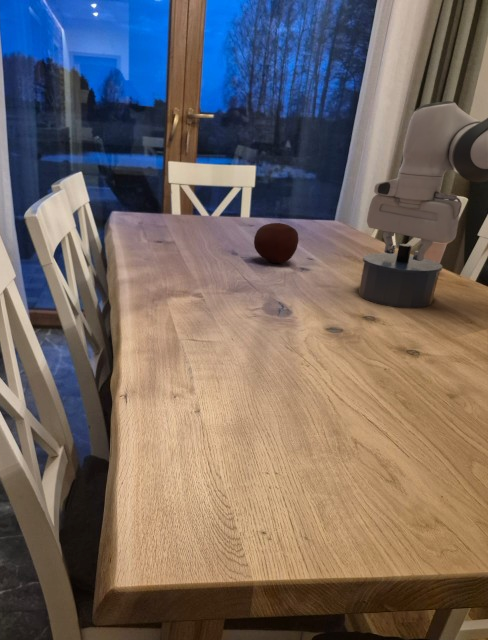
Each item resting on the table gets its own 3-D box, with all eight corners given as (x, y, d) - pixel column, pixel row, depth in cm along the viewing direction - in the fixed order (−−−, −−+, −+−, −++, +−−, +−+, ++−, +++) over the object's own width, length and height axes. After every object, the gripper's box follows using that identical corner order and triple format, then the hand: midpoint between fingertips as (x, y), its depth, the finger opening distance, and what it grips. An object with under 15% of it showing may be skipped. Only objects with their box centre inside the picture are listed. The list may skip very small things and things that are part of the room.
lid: (457, 271, 124) (462, 249, 122) (409, 279, 115) (415, 256, 113) (393, 255, 136) (397, 235, 134) (346, 262, 127) (350, 240, 125)
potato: (272, 255, 163) (276, 217, 159) (305, 265, 153) (310, 225, 149) (242, 258, 157) (245, 219, 153) (274, 269, 148) (279, 228, 143)
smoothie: (409, 272, 152) (421, 217, 146) (429, 271, 154) (442, 217, 148) (425, 278, 147) (438, 222, 141) (446, 277, 149) (459, 222, 142)
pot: (446, 302, 127) (454, 268, 124) (401, 311, 119) (409, 276, 116) (388, 285, 139) (394, 253, 135) (344, 292, 130) (349, 259, 127)
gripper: (472, 195, 113) (454, 265, 119) (387, 183, 128) (375, 246, 134) (454, 196, 110) (436, 268, 116) (368, 184, 124) (357, 248, 130)
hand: (403, 256), depth 125 cm, fingers open, 6 cm apart
